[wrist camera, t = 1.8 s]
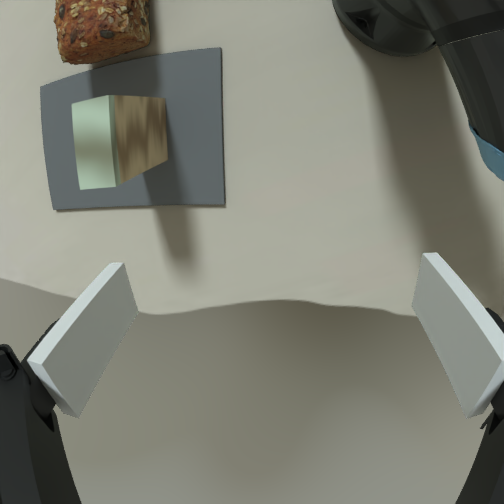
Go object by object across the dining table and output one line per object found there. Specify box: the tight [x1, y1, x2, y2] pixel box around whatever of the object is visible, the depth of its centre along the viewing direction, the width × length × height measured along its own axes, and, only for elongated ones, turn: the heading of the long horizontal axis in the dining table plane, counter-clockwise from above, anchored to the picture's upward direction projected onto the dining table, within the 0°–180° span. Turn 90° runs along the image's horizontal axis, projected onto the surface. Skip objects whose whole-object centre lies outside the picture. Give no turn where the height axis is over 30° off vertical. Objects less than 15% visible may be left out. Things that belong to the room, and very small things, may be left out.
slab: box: [72, 95, 168, 190], centre depth 29 cm, size 8×4×14 cm, turn 1°
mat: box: [40, 47, 225, 210], centre depth 35 cm, size 20×28×1 cm
